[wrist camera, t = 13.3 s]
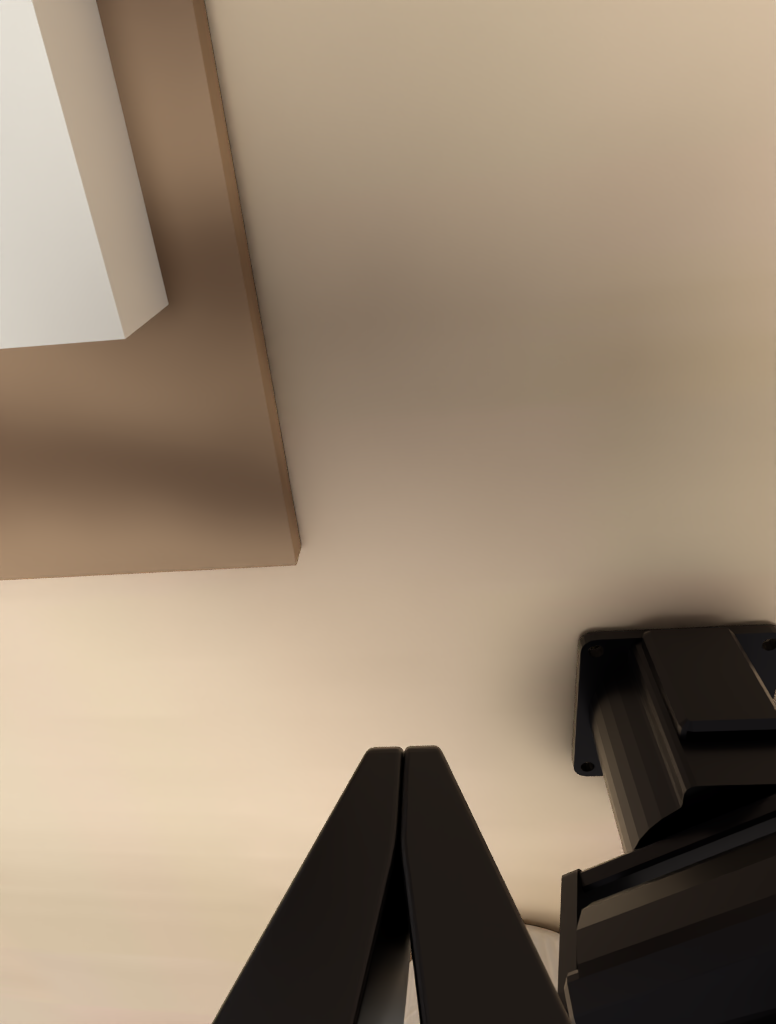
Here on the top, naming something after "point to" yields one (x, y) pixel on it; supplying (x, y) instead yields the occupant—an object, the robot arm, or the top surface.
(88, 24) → the socket
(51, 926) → the top surface
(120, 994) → the top surface
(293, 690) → the top surface
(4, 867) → the top surface
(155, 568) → the walnut board
